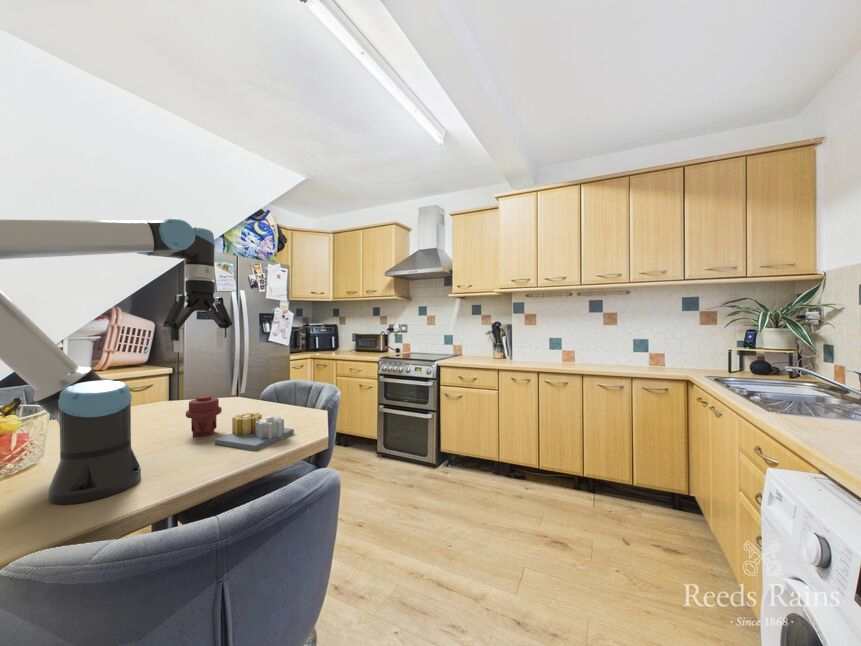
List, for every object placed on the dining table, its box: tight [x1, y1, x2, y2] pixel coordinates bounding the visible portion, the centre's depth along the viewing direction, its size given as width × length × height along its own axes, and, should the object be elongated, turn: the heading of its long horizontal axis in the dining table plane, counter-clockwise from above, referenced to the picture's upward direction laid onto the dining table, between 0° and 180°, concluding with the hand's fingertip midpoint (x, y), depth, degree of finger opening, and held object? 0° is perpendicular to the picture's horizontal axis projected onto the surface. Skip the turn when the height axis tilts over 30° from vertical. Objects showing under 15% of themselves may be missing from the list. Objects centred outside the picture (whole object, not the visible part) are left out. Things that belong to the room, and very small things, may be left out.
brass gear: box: [231, 412, 263, 436], centre depth 114 cm, size 8×8×5 cm
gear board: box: [214, 415, 295, 452], centre depth 112 cm, size 16×17×7 cm
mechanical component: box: [185, 395, 223, 437], centre depth 117 cm, size 12×10×10 cm
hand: (200, 350), depth 107 cm, fingers open, 13 cm apart
